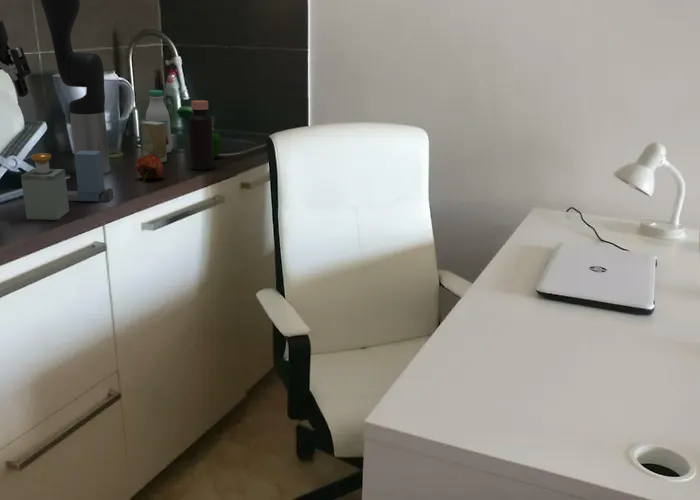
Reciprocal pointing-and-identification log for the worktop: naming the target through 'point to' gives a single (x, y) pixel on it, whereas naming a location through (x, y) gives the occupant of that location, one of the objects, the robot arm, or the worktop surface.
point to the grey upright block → (45, 194)
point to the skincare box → (154, 139)
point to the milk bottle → (159, 114)
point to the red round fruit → (149, 167)
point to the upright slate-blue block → (89, 175)
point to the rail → (104, 196)
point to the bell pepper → (216, 144)
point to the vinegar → (201, 136)
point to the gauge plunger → (42, 162)
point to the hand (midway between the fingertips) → (8, 96)
